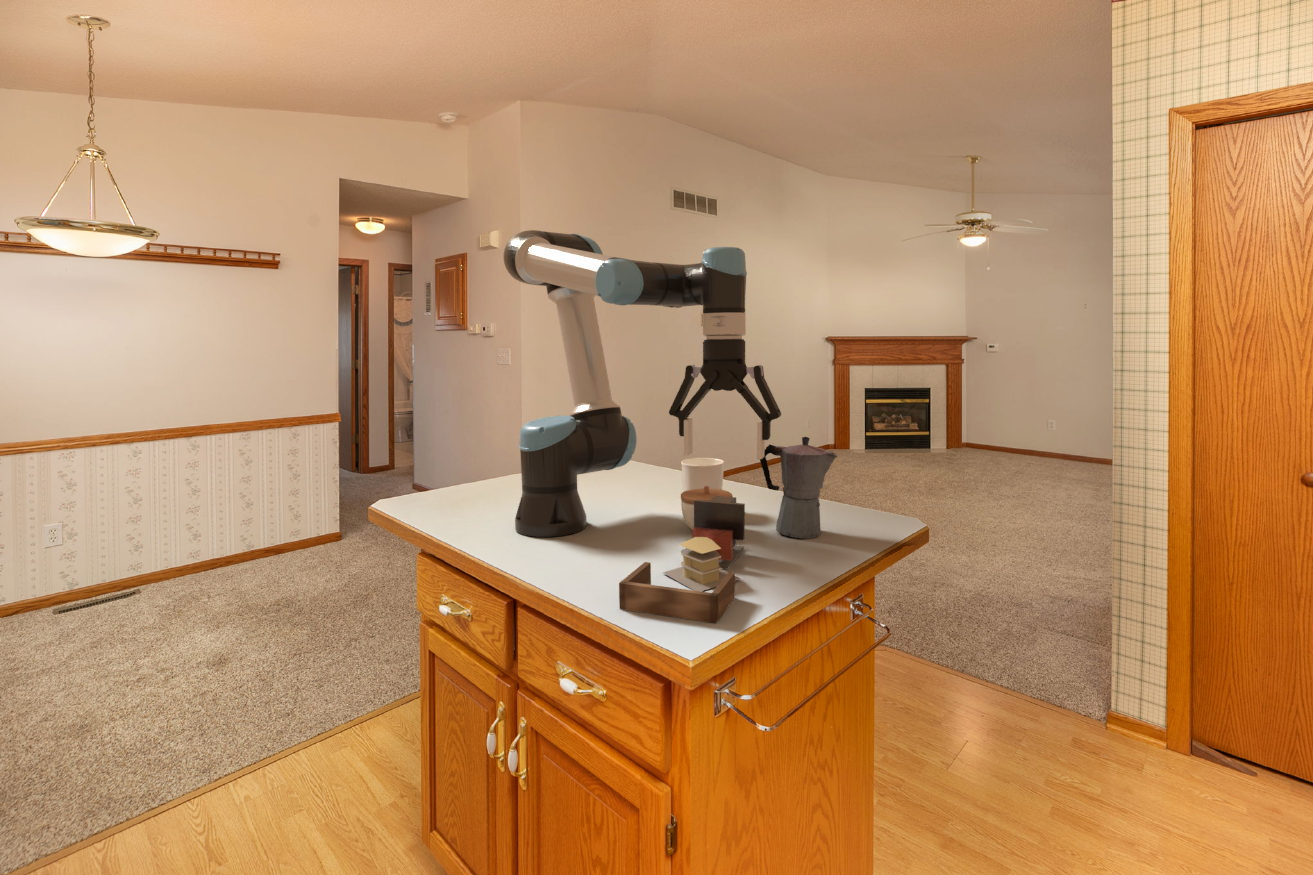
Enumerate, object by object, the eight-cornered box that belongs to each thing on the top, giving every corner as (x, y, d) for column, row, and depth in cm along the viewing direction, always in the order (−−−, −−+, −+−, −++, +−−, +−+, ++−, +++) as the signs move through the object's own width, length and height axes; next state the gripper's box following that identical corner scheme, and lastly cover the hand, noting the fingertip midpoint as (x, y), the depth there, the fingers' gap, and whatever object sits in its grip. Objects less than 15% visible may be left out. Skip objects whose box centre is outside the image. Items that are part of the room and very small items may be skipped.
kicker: (686, 555, 118) (686, 506, 117) (702, 540, 127) (702, 494, 125) (736, 561, 115) (737, 510, 113) (749, 545, 123) (750, 498, 122)
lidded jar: (718, 540, 132) (718, 494, 130) (671, 533, 137) (671, 488, 136) (740, 527, 141) (741, 484, 139) (696, 520, 146) (696, 479, 145)
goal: (619, 608, 99) (619, 583, 98) (645, 585, 108) (644, 561, 108) (716, 623, 93) (716, 596, 93) (734, 597, 103) (734, 572, 102)
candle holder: (731, 510, 154) (731, 460, 152) (711, 520, 146) (711, 467, 144) (694, 505, 159) (694, 456, 158) (673, 514, 151) (672, 463, 149)
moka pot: (836, 541, 130) (839, 441, 127) (757, 538, 133) (758, 439, 130) (833, 528, 139) (836, 433, 136) (759, 525, 142) (760, 432, 139)
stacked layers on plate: (741, 578, 110) (740, 547, 108) (697, 592, 105) (696, 559, 104) (704, 560, 118) (704, 531, 117) (662, 572, 113) (661, 542, 112)
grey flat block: (694, 565, 117) (694, 561, 117) (713, 546, 128) (713, 543, 128) (727, 569, 115) (727, 565, 115) (743, 549, 126) (743, 546, 126)
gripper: (650, 338, 119) (652, 455, 122) (791, 337, 110) (788, 463, 113) (665, 338, 125) (666, 449, 129) (798, 337, 116) (796, 456, 120)
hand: (723, 456), depth 121 cm, fingers open, 13 cm apart
